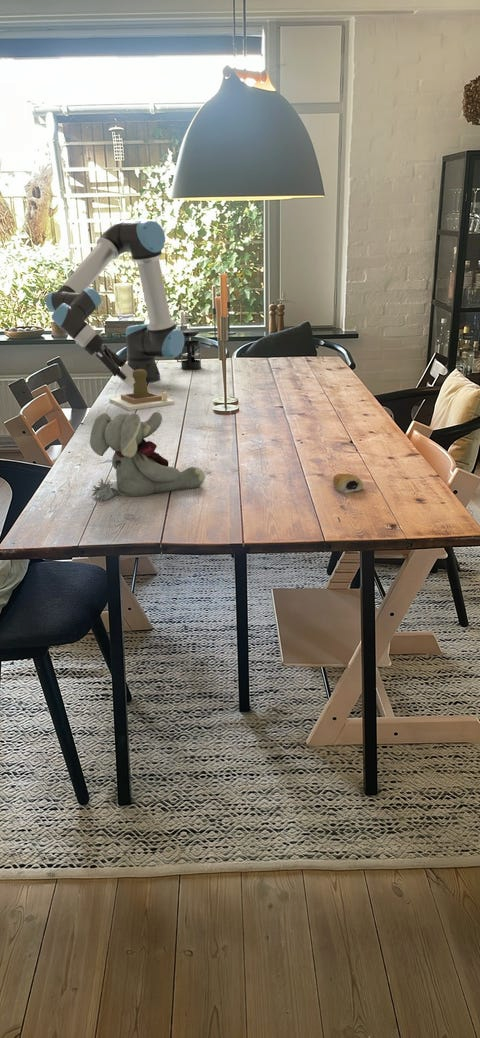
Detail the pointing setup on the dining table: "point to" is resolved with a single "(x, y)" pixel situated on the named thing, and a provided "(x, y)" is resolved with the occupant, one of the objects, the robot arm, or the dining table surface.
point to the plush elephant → (137, 458)
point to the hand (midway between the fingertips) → (134, 381)
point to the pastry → (347, 483)
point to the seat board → (141, 401)
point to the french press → (190, 350)
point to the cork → (140, 384)
